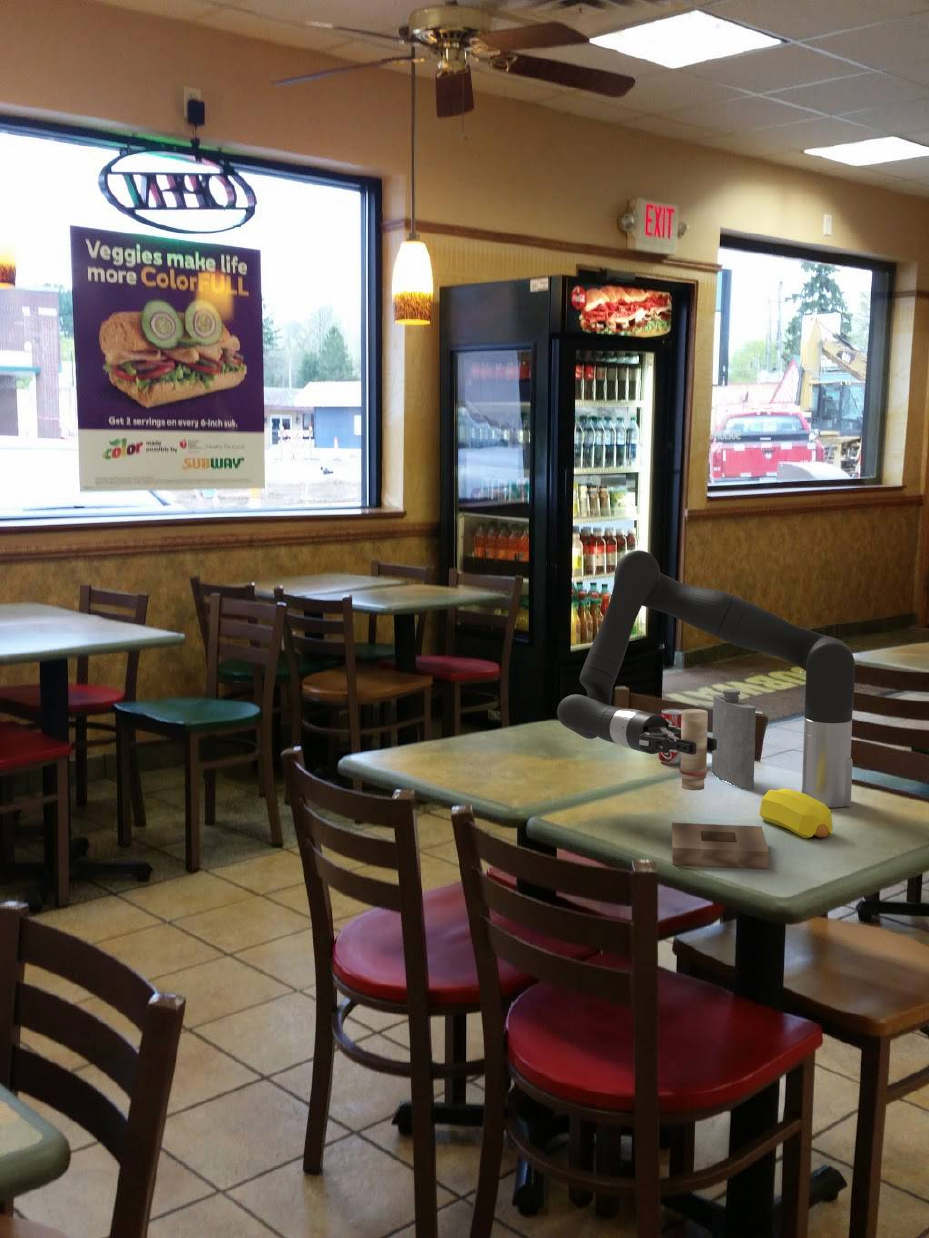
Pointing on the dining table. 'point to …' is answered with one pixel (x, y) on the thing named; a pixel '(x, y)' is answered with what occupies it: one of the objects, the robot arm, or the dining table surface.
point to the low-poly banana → (797, 813)
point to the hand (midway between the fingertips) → (705, 746)
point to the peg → (696, 764)
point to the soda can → (675, 720)
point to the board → (719, 845)
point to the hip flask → (734, 739)
